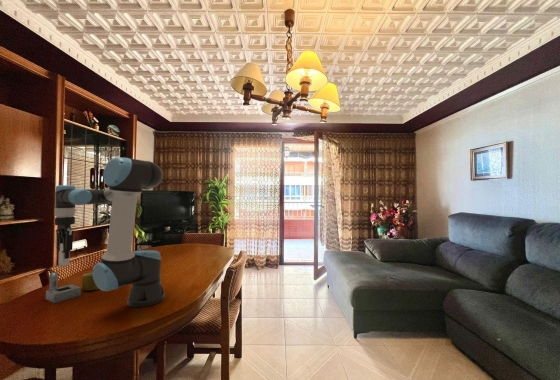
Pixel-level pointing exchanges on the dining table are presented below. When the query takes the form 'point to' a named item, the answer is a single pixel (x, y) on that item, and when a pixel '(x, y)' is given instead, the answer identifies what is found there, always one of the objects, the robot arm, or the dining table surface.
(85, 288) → the mug
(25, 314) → the dining table surface
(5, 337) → the dining table surface
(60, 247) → the pin
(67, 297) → the grey l-shaped block
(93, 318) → the dining table surface
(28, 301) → the dining table surface
